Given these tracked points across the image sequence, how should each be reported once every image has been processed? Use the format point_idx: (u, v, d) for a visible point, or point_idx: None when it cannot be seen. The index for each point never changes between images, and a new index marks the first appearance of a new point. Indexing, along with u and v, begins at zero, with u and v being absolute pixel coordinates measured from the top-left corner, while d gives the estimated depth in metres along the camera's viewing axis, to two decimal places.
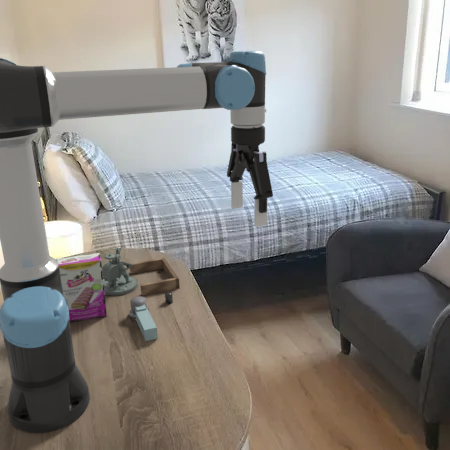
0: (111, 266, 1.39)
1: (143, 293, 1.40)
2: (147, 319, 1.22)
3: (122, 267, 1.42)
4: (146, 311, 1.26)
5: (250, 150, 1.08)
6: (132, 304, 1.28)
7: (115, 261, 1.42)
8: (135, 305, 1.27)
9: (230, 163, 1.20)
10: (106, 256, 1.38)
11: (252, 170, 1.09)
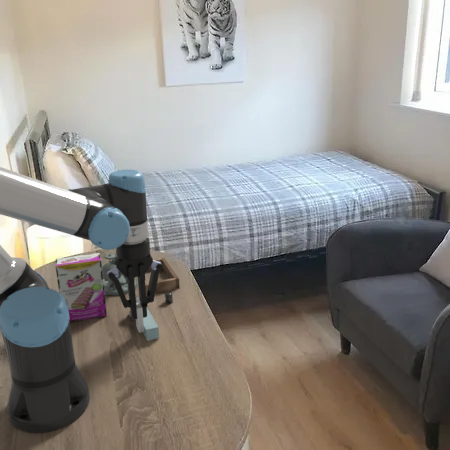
0: (111, 266, 1.39)
1: None
2: (148, 319, 1.22)
3: None
4: None
5: None
6: None
7: (115, 261, 1.42)
8: None
9: None
10: (106, 256, 1.38)
11: (127, 280, 1.16)
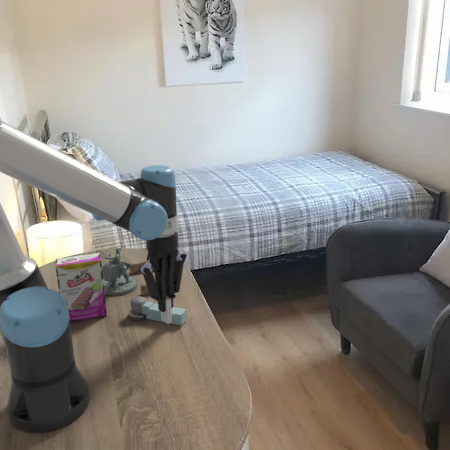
0: (111, 266, 1.39)
1: (143, 293, 1.40)
2: None
3: (122, 267, 1.42)
4: (156, 304, 1.29)
5: None
6: (138, 305, 1.27)
7: (115, 261, 1.42)
8: (141, 304, 1.28)
9: None
10: (106, 256, 1.38)
11: (155, 274, 1.20)
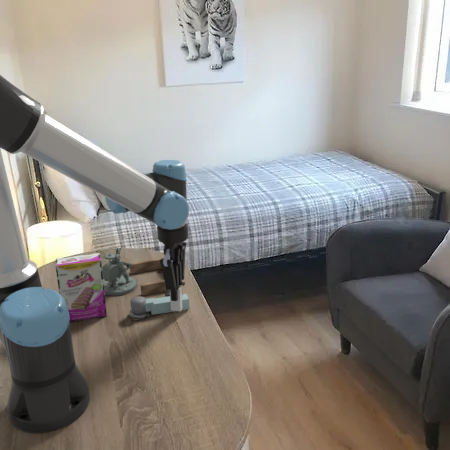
0: (111, 266, 1.39)
1: (143, 293, 1.40)
2: None
3: (122, 267, 1.42)
4: (156, 299, 1.32)
5: (163, 250, 1.20)
6: (142, 304, 1.28)
7: (115, 261, 1.42)
8: (145, 302, 1.29)
9: None
10: (106, 256, 1.38)
11: None
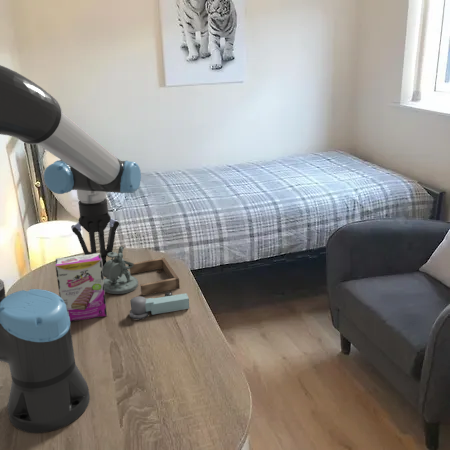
0: (113, 264, 1.39)
1: (143, 293, 1.40)
2: (171, 297, 1.32)
3: (124, 266, 1.42)
4: (156, 299, 1.32)
5: None
6: (142, 304, 1.28)
7: (117, 259, 1.42)
8: (145, 302, 1.29)
9: None
10: (109, 254, 1.38)
11: (89, 235, 1.39)
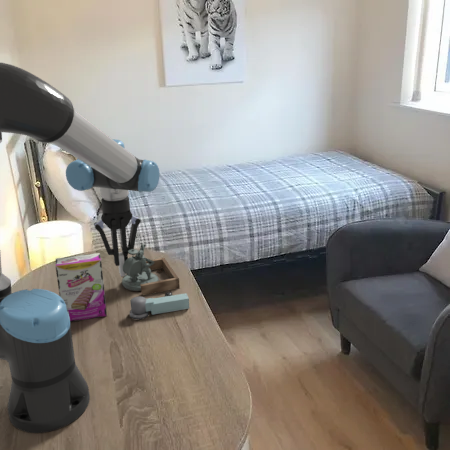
0: (133, 261, 1.41)
1: (143, 293, 1.40)
2: (171, 297, 1.32)
3: (144, 263, 1.43)
4: (156, 299, 1.32)
5: None
6: (142, 304, 1.28)
7: (138, 257, 1.43)
8: (145, 302, 1.29)
9: None
10: (129, 251, 1.40)
11: (111, 232, 1.41)
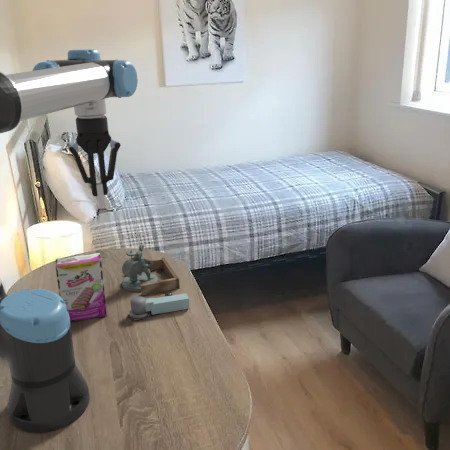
0: (132, 263, 1.41)
1: (143, 293, 1.40)
2: (171, 297, 1.32)
3: (143, 264, 1.43)
4: (156, 299, 1.32)
5: None
6: (142, 304, 1.28)
7: (137, 258, 1.43)
8: (145, 302, 1.29)
9: None
10: (127, 252, 1.40)
11: None
